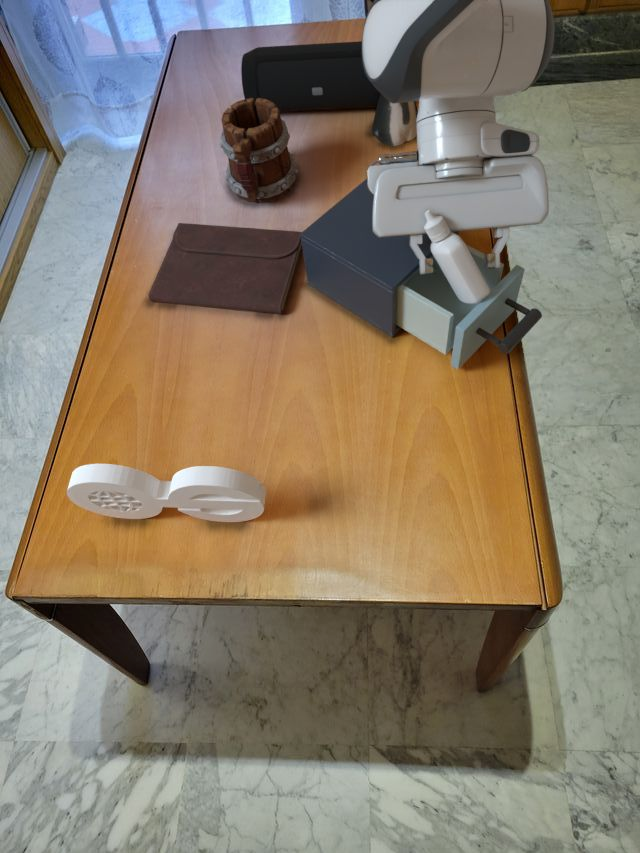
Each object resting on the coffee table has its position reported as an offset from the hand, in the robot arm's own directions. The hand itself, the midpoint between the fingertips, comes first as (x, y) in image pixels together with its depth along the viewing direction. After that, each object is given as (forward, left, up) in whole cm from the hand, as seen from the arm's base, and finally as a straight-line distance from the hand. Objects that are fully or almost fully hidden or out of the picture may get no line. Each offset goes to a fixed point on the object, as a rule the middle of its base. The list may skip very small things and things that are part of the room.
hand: (459, 271), depth 76 cm
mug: (+41, -4, -11) cm, 42 cm away
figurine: (+33, -27, -11) cm, 44 cm away
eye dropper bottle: (-2, 0, -3) cm, 4 cm away
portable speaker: (+48, -26, -11) cm, 56 cm away
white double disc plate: (+8, +42, -11) cm, 44 cm away
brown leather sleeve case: (+32, +12, -11) cm, 35 cm away
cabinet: (+13, 0, -10) cm, 16 cm away
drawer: (0, 0, -9) cm, 9 cm away
